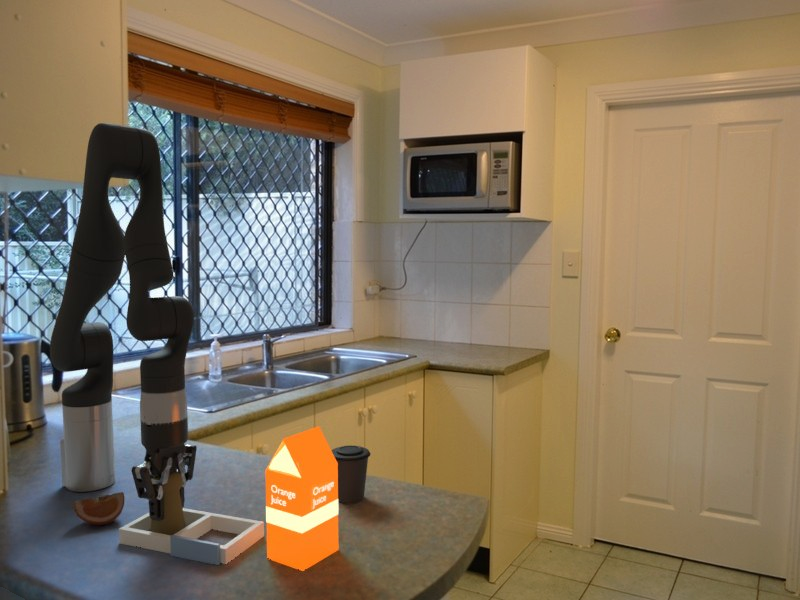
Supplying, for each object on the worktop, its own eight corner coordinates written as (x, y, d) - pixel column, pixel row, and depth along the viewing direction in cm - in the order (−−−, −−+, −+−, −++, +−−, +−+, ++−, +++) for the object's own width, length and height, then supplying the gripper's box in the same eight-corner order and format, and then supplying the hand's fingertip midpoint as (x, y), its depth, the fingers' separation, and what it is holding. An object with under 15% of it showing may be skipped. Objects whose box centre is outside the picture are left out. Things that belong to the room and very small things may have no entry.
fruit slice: (75, 534, 119) (73, 506, 118) (73, 520, 125) (71, 493, 124) (127, 524, 123) (126, 497, 122) (122, 511, 129) (121, 485, 128)
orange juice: (266, 558, 110) (263, 435, 108) (303, 538, 117) (301, 422, 115) (303, 571, 106) (301, 443, 104) (339, 549, 113) (338, 429, 111)
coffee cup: (378, 495, 136) (378, 446, 135) (355, 509, 129) (355, 457, 128) (344, 488, 140) (344, 439, 139) (320, 501, 133) (320, 450, 132)
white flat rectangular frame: (116, 544, 115) (115, 526, 114) (163, 518, 125) (163, 500, 125) (223, 566, 107) (223, 546, 107) (264, 535, 118) (263, 517, 118)
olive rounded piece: (173, 524, 123) (172, 464, 122) (193, 534, 119) (192, 471, 118) (142, 536, 118) (140, 473, 117) (162, 546, 114) (160, 481, 113)
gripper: (174, 403, 124) (177, 496, 126) (115, 424, 111) (119, 527, 113) (209, 407, 122) (211, 501, 123) (152, 428, 108) (156, 534, 110)
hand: (167, 513), depth 118 cm, fingers closed on olive rounded piece, 4 cm apart
